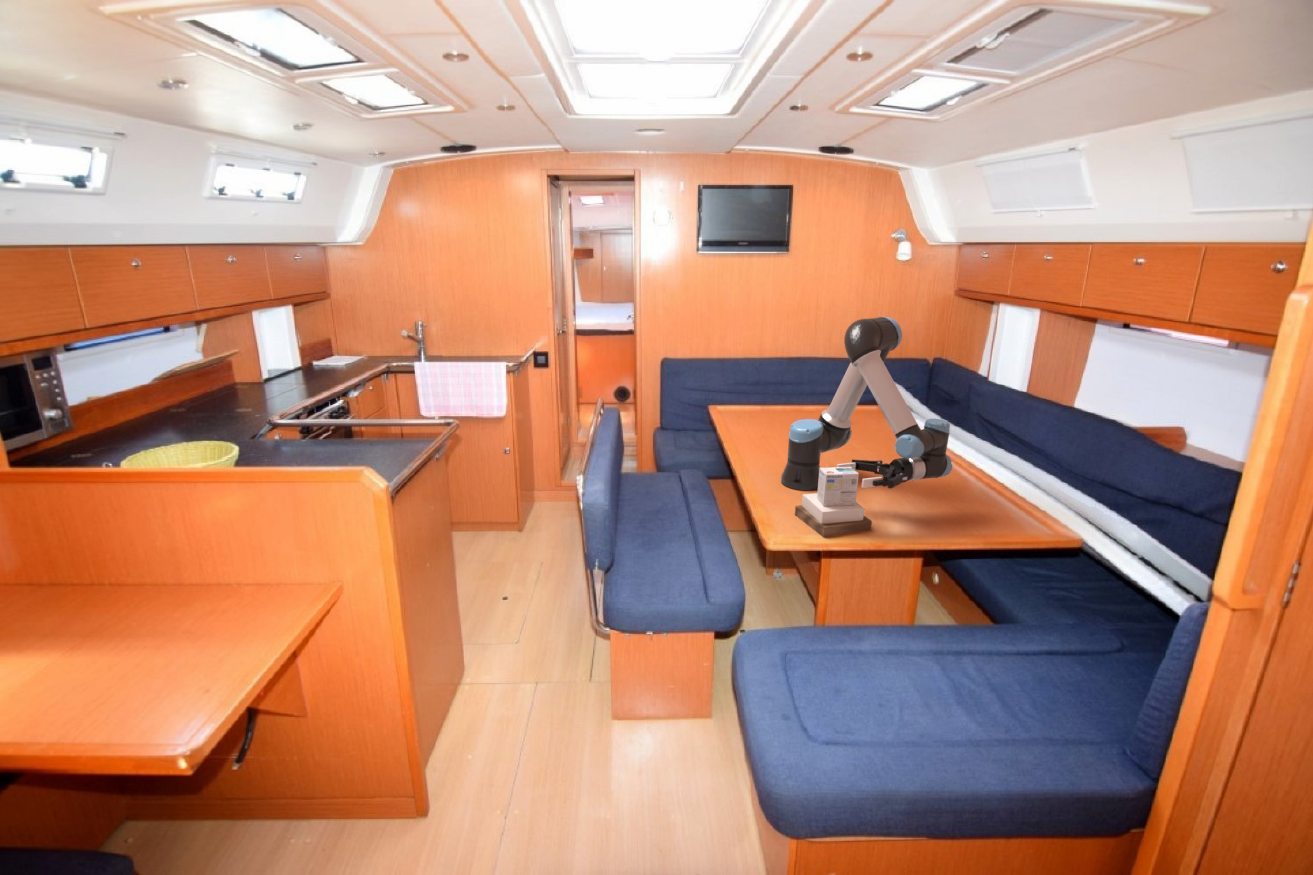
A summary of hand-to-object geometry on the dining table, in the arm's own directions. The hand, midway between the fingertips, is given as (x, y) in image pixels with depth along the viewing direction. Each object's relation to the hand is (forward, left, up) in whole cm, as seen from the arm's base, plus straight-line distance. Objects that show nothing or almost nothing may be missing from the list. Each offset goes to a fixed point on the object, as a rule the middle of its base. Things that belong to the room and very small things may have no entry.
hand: (849, 475), depth 193 cm
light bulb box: (0, -4, -9) cm, 10 cm away
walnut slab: (-1, -4, -16) cm, 17 cm away
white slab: (-1, -4, -12) cm, 13 cm away
